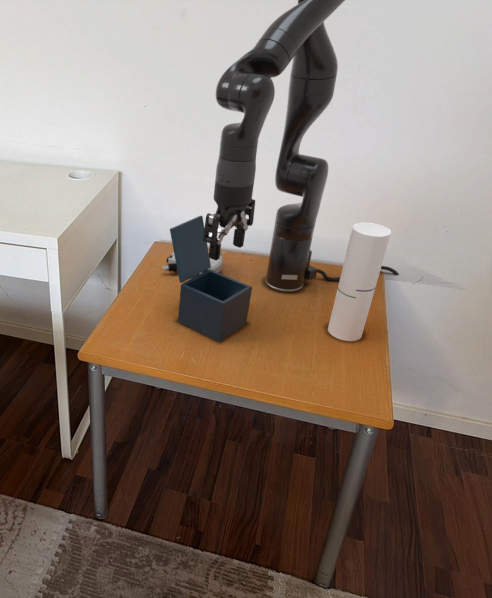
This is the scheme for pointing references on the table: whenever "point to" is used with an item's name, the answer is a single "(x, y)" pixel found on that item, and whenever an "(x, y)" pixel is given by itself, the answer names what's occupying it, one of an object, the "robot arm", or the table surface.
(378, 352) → the table surface
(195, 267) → the lid
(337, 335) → the cylindrical container
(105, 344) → the table surface
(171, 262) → the robot toy
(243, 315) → the caddy
